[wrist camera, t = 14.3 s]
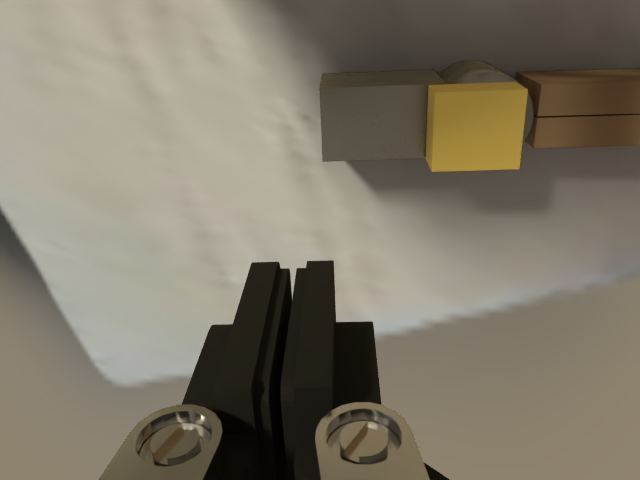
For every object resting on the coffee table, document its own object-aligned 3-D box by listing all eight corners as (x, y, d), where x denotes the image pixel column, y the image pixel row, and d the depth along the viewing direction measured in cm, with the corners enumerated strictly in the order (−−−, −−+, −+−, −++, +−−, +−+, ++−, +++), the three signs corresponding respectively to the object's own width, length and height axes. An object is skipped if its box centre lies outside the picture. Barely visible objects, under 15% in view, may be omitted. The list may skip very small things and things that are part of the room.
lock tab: (425, 159, 28) (431, 171, 26) (428, 84, 26) (434, 92, 25) (507, 156, 28) (519, 169, 26) (515, 81, 26) (528, 89, 24)
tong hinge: (325, 145, 33) (323, 169, 29) (322, 66, 31) (319, 79, 27) (503, 138, 32) (528, 162, 28) (511, 58, 30) (538, 71, 26)
